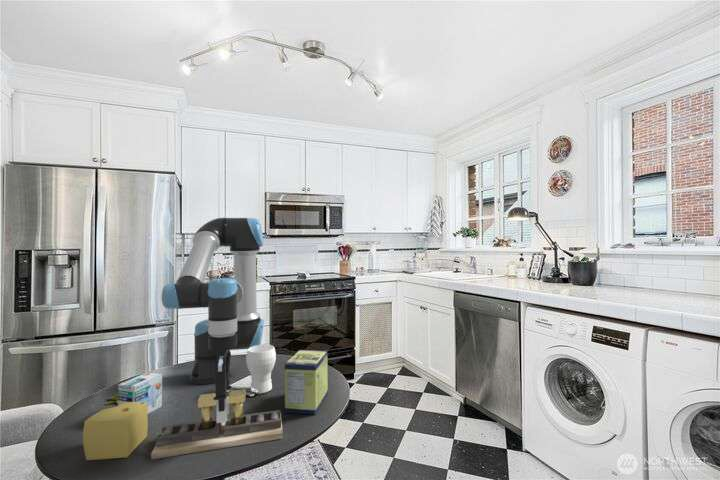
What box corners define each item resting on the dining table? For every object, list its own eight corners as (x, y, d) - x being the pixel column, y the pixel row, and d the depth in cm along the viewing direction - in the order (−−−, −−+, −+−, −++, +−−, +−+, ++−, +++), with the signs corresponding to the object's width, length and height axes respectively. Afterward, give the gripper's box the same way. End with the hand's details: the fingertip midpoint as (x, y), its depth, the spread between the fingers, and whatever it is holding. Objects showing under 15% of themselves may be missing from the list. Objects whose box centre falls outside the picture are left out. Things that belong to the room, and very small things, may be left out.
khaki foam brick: (200, 427, 94) (200, 394, 94) (245, 420, 97) (245, 389, 97) (198, 433, 90) (198, 400, 90) (245, 426, 94) (244, 394, 94)
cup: (267, 396, 118) (267, 353, 118) (240, 394, 120) (240, 352, 120) (280, 384, 128) (280, 344, 129) (255, 382, 130) (255, 343, 131)
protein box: (328, 393, 120) (327, 350, 120) (316, 415, 105) (315, 365, 105) (300, 391, 122) (299, 349, 122) (284, 413, 106) (283, 363, 107)
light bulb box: (134, 422, 101) (134, 386, 102) (116, 419, 103) (116, 384, 103) (163, 405, 112) (163, 373, 112) (146, 403, 113) (146, 371, 114)
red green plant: (96, 409, 110) (96, 395, 110) (112, 394, 122) (112, 381, 122) (138, 404, 113) (137, 391, 114) (150, 390, 125) (150, 377, 125)
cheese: (109, 438, 93) (109, 402, 93) (150, 436, 94) (150, 400, 94) (81, 462, 83) (82, 421, 83) (127, 459, 84) (127, 419, 84)
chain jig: (164, 433, 95) (165, 420, 95) (280, 417, 104) (280, 405, 104) (151, 459, 83) (151, 444, 84) (282, 438, 92) (282, 424, 92)
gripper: (212, 327, 101) (212, 406, 101) (203, 343, 85) (203, 436, 85) (239, 326, 103) (239, 402, 103) (234, 340, 87) (234, 431, 87)
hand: (222, 417), depth 94 cm, fingers closed on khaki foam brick, 3 cm apart
